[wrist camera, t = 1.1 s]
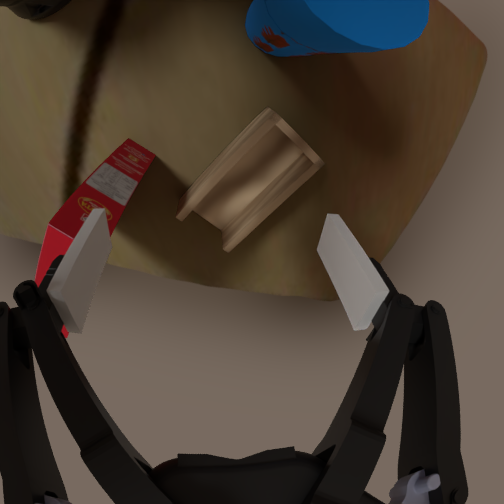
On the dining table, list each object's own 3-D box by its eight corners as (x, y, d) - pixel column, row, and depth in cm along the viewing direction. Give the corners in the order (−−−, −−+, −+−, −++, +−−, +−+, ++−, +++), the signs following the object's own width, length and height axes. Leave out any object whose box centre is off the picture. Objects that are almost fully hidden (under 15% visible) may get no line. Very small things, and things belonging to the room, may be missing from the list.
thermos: (323, 54, 32) (440, 57, 12) (253, 63, 32) (309, 54, 13) (308, -7, 25) (409, -61, 6) (236, 0, 26) (267, -81, 6)
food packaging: (115, 222, 45) (66, 338, 25) (91, 208, 42) (29, 318, 23) (155, 155, 39) (101, 254, 19) (128, 138, 37) (48, 223, 17)
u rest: (179, 199, 44) (175, 217, 39) (267, 106, 37) (275, 112, 32) (226, 232, 49) (228, 252, 45) (312, 151, 42) (325, 163, 37)
